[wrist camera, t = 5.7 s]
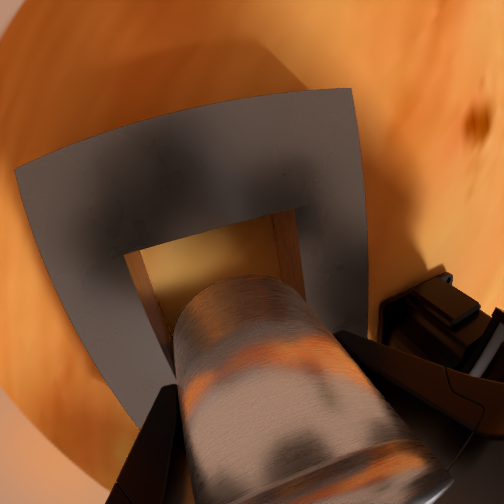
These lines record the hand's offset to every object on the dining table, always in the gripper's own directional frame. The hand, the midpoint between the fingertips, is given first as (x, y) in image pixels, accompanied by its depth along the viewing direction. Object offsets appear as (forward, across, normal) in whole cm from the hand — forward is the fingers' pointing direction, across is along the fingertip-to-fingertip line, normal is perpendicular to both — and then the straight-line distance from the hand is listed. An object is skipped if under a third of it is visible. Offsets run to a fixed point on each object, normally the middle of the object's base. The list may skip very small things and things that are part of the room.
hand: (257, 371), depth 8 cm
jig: (+7, 0, 0) cm, 7 cm away
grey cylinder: (+2, 0, 0) cm, 2 cm away
